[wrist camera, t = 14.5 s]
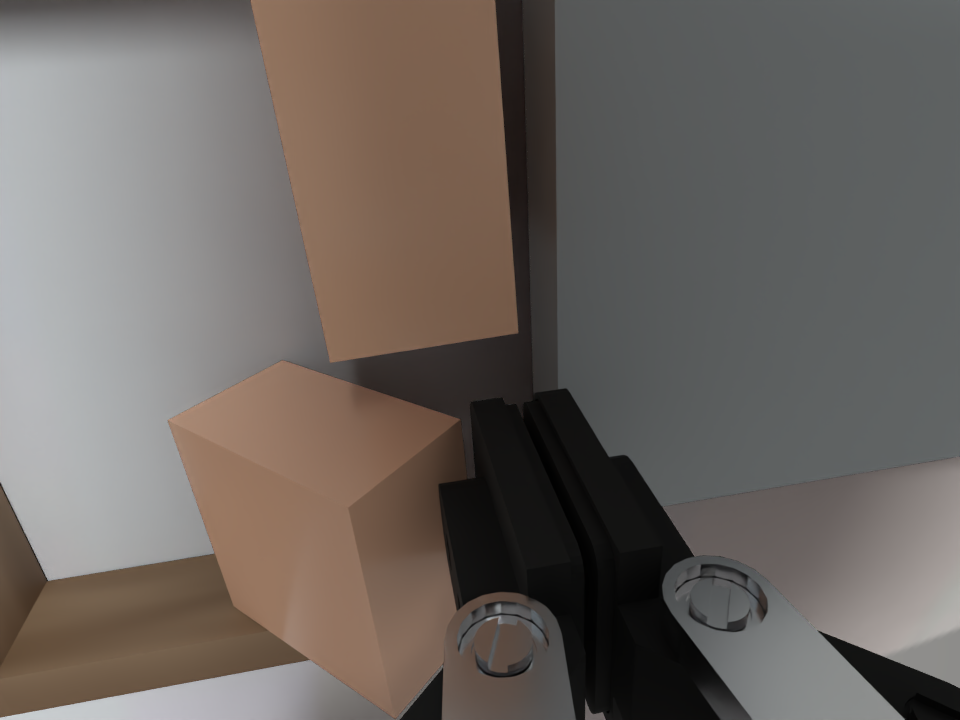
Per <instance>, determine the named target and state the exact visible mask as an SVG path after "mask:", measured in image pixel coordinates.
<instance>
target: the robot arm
mask: <svg viewBox="0 0 960 720" xmlns="http://www.w3.org/2000/svg"><path fill="white" fill-rule="evenodd" d="M470 414H471V427H472V439H473V452H474V464H475V477H476V478H473V479H466V480H460V481H454V482H447V483H441V484H439V485H438V487H439V499H440V507H441V516H442V525H443V533H444V540H445V547H446V553H447V560H448V566H449V572H450V577H451V583H452V588H453V593H454V599H455V604H456V610H457V612H456V613H455V614H454V616H453V618H452V619H451V621H450V622H449V624H448V626H447V630H446V634H445V639H444V661H443V669H442V670H441V671H440V672H439V674H438V675H437V676H436V677H435V678H434V679H433V681H432V682H431V683H430V684H429V685H428V687H427V688H426V689H425V690H424V691H423V693H422V694H421V695H420V696H419V697H418V699H417V700H416V701H415V702H414V703H413V705H412V706H411V707H410V708H409V709H408V711H407V712H406V713H405V714H404V715H403V717H402V718H401V719H400V720H585V699H586V701H587V704H588V707H589V709H590V711H591V713H592V714H596V713H601V712H603V713H604V716H605V719H606V720H960V688H958V687H956V686H954V685H952V684H950V683H948V682H945V681H942V680H940V679H937V678H935V677H933V676H930V675H928V674H925V673H923V672H920V671H918V670H915V669H913V668H910V667H908V666H905V665H903V664H900V663H898V662H895V661H893V660H890V659H887V658H885V657H883V656H880V655H878V654H875V653H873V652H870V651H868V650H865V649H863V648H860V647H858V646H855V645H853V644H850V643H847V642H845V641H842V640H840V639H837V638H835V637H832V636H830V635H827V634H825V633H822V632H820V631H817V630H816V629H815V628H814V627H813V626H812V625H811V624H810V623H809V622H808V621H807V620H806V619H805V618H804V617H803V616H802V615H801V614H800V613H799V612H798V610H797V609H796V608H795V607H794V606H793V605H792V604H791V603H790V602H789V601H788V600H787V599H786V598H785V597H784V596H783V595H782V594H781V593H780V592H779V591H778V590H777V589H776V588H775V587H774V586H773V585H772V584H771V583H770V582H769V581H768V580H767V579H766V578H764V577H763V576H762V575H761V574H759V573H758V572H757V571H756V570H754V569H753V568H751V567H749V566H747V565H744V564H742V563H740V562H738V561H735V560H732V559H728V558H724V557H720V556H704V555H703V556H697V557H694V555H693V554H692V552H691V550H690V549H689V547H688V546H687V544H686V543H685V541H684V540H683V538H682V537H681V535H680V534H679V532H678V531H677V529H676V528H675V526H674V524H673V523H672V521H671V520H670V518H669V517H668V515H667V514H666V512H665V511H664V509H663V508H662V506H661V505H660V503H659V502H658V500H657V498H656V497H655V495H654V494H653V492H652V491H651V489H650V488H649V486H648V485H647V483H646V482H645V480H644V479H643V477H642V475H641V474H640V472H639V471H638V469H637V468H636V466H635V465H634V463H633V462H632V460H631V459H630V458H629V457H628V456H626V455H618V456H612V457H609V456H608V454H607V453H606V451H605V450H604V448H603V446H602V445H601V443H600V441H599V440H598V438H597V436H596V435H595V433H594V431H593V430H592V428H591V426H590V425H589V423H588V421H587V420H586V418H585V417H584V415H583V413H582V412H581V410H580V408H579V407H578V405H577V403H576V402H575V400H574V398H573V397H572V395H571V393H570V392H569V390H568V389H567V388H564V389H557V390H550V391H543V392H536V393H535V394H534V398H533V401H531V402H525V403H524V406H523V417H524V421H523V419H522V416H521V414H520V412H519V410H518V407H517V405H516V404H511V405H506V404H505V402H504V400H503V398H502V397H501V398H494V399H487V400H480V401H473V402H471V403H470Z"/></svg>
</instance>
